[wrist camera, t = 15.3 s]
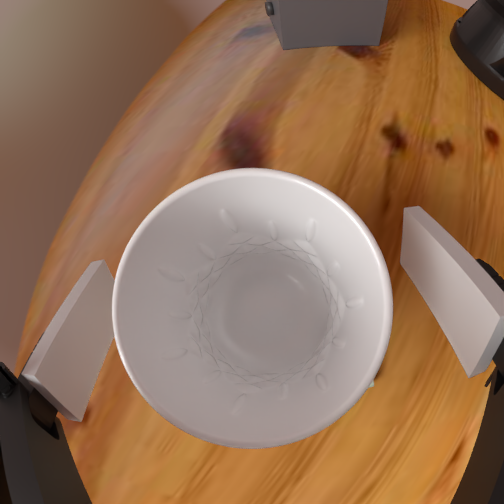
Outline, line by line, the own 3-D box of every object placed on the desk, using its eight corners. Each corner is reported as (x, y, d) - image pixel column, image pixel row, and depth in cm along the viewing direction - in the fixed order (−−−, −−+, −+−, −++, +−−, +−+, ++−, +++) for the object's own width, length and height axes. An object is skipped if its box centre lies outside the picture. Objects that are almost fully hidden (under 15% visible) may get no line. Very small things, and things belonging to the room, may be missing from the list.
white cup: (264, 405, 16) (232, 492, 6) (180, 308, 18) (73, 291, 8) (363, 316, 16) (445, 308, 7) (274, 222, 18) (253, 123, 9)
